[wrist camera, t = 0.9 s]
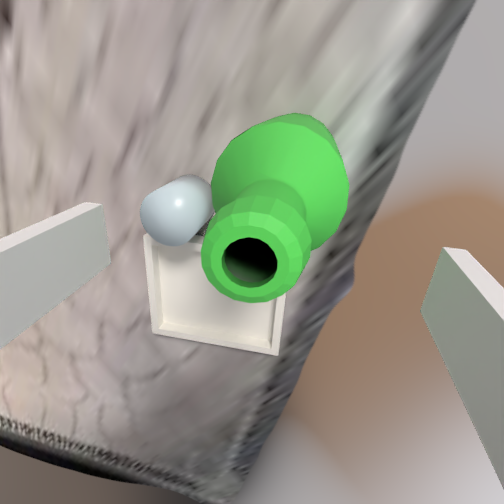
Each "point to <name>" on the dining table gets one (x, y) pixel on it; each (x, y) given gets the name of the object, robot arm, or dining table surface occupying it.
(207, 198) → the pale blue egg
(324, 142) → the bottle
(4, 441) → the dining table surface
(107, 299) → the dining table surface
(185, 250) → the tray
